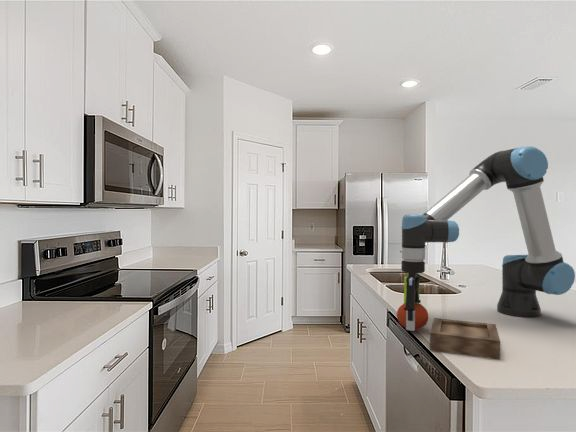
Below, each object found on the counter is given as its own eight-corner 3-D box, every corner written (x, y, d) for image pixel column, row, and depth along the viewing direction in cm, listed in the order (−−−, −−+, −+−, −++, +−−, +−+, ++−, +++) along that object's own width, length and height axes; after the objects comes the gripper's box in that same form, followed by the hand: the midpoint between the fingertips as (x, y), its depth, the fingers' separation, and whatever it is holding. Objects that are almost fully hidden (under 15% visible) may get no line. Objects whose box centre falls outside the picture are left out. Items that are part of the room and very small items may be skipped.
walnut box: (495, 340, 128) (495, 324, 128) (500, 359, 111) (500, 341, 111) (434, 333, 135) (434, 317, 135) (430, 350, 118) (430, 332, 118)
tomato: (410, 335, 132) (410, 304, 132) (390, 327, 141) (390, 298, 141) (435, 332, 136) (435, 302, 136) (414, 324, 145) (414, 296, 145)
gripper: (405, 256, 150) (405, 316, 150) (396, 263, 129) (395, 333, 129) (427, 257, 147) (426, 318, 147) (421, 265, 126) (420, 336, 126)
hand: (412, 325), depth 138 cm, fingers closed on tomato, 10 cm apart
